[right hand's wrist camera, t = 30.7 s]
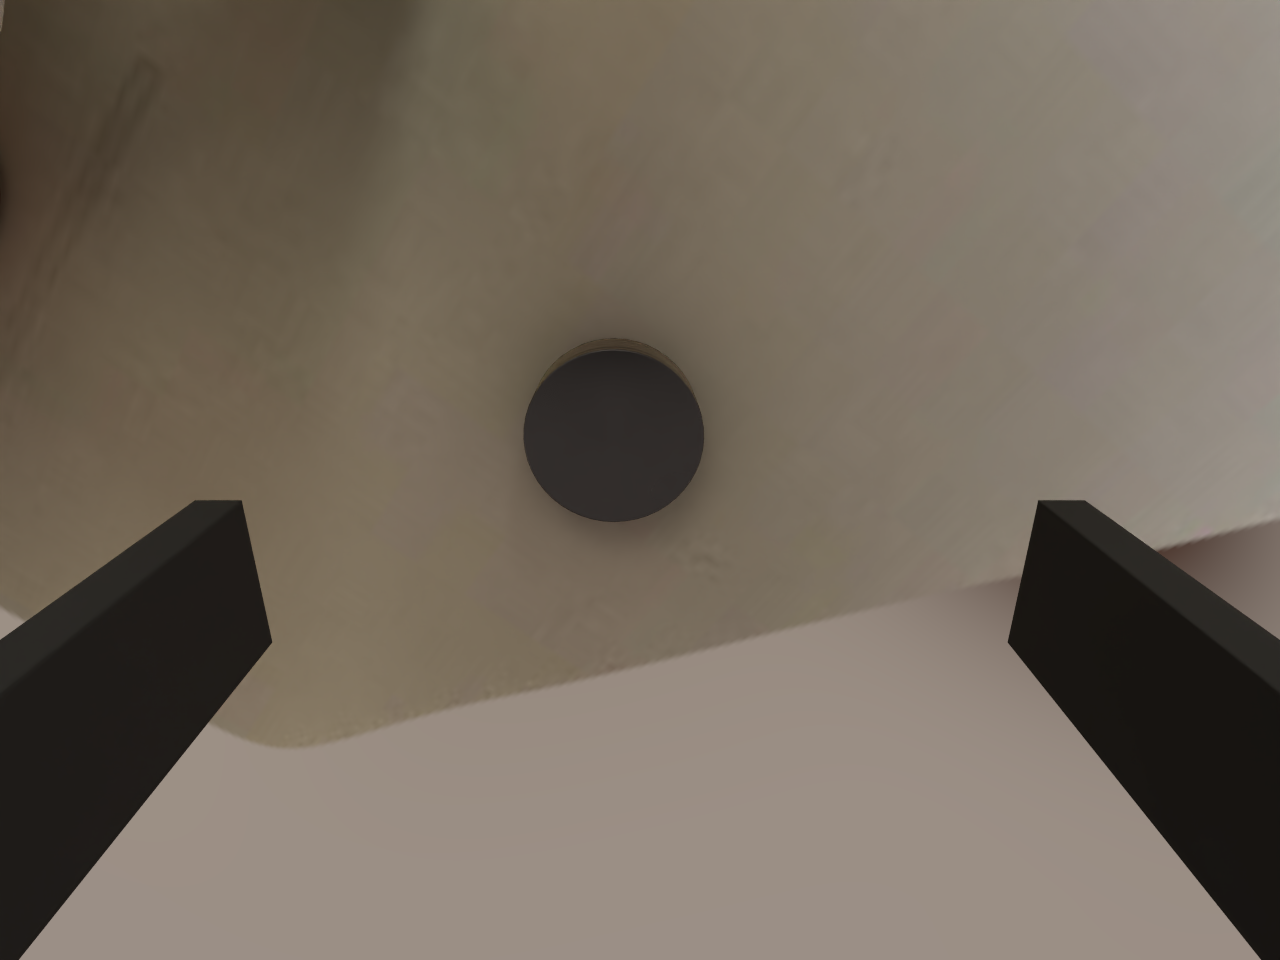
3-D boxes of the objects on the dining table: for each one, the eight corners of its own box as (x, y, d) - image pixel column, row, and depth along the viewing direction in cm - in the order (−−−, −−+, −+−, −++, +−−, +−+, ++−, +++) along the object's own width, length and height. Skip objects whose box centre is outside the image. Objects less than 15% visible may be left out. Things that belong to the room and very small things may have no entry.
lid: (661, 310, 23) (665, 320, 21) (721, 464, 25) (729, 484, 23) (502, 376, 24) (492, 391, 22) (571, 522, 25) (568, 546, 24)
